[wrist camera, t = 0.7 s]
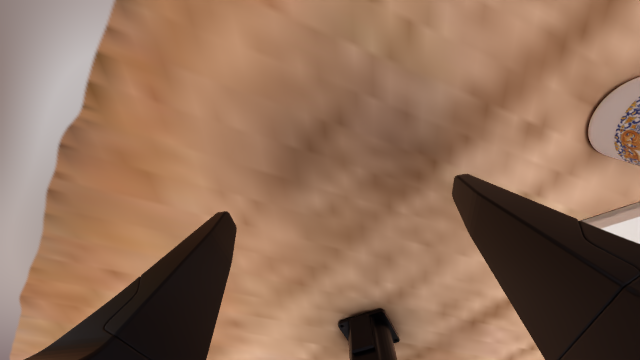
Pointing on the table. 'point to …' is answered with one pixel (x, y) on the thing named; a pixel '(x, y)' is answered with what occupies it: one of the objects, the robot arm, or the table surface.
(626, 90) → the bath foam
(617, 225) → the tray
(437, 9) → the table surface
